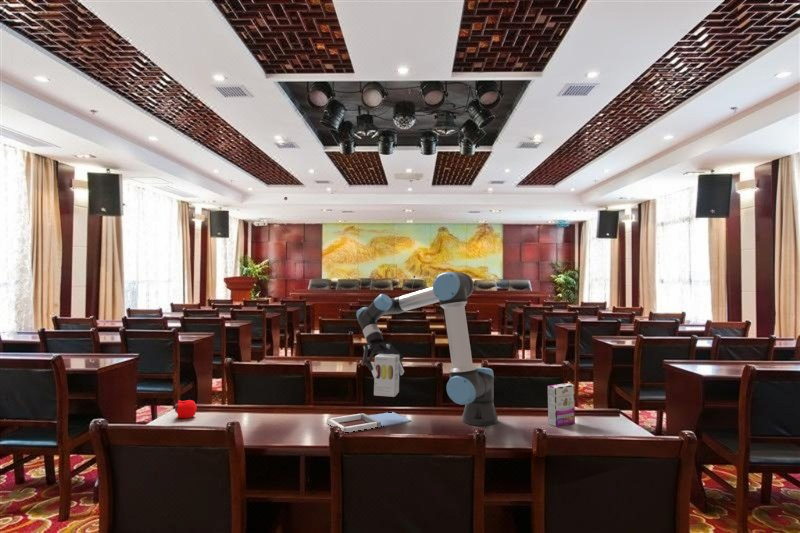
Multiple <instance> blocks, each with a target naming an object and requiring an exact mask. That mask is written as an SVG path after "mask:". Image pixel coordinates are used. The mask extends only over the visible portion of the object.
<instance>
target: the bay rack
mask: <svg viewBox="0 0 800 533" xmlns="http://www.w3.org/2000/svg"><path fill="white" fill-rule="evenodd" d="M391 412H392V413H388V412H384V413H378V414H369V415H368V414H366V413H364V412H363V413H362V412H361V413H357V414H355V413H354V414H349V415H343V416H336V417H329V418H326V424H327V425H328V424H329V425H328V426H330V425H331V426H338V427H340V428H341V430H342V431H344V432H349V433H354V432H353V431H355V432H359V431H358V430H361V431H365V430H364V429H367V430H372V429H371V428H373V429H376V428H375V427H378V428H383V426H384V427H389V426H390V427H391V426H395V425H401V424H402V425H403V424H407V423H412V419H410V418H407V417H405V416H402V415H401V414H399V413H396V412H394V411H391ZM360 420H363V421H364V420H365V422H366V423H361V424H355V425H349V426H344V425H342V424H341V423H344V422H345V423H346V422H351V421H360ZM331 426H330V427H331ZM381 426H382V427H381Z"/></svg>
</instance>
